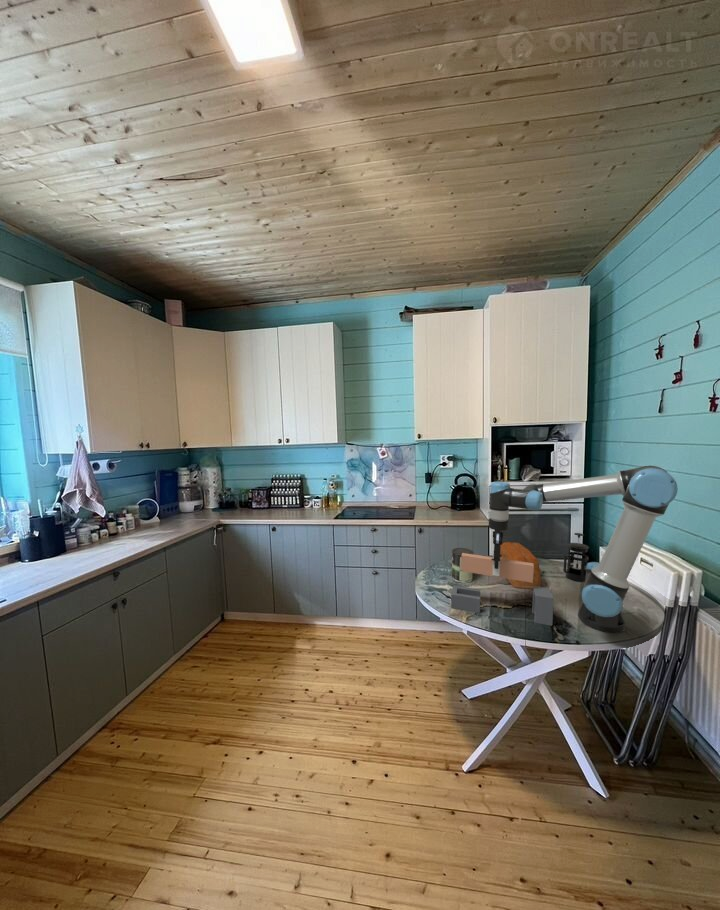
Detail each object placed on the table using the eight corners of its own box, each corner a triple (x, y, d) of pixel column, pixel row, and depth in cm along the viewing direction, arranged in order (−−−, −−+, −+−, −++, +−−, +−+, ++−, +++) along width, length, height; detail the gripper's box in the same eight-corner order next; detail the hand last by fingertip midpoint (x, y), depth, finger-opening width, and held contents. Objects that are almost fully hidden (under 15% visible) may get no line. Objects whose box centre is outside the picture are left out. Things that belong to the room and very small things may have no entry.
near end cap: (548, 613, 144) (549, 588, 143) (552, 625, 136) (553, 598, 135) (532, 611, 146) (533, 585, 145) (534, 622, 138) (536, 595, 137)
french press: (581, 574, 182) (583, 530, 180) (593, 582, 173) (596, 536, 171) (558, 574, 182) (560, 530, 180) (569, 582, 173) (572, 536, 171)
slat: (532, 579, 144) (533, 563, 144) (532, 582, 142) (533, 565, 141) (461, 568, 155) (462, 552, 154) (460, 570, 152) (461, 555, 151)
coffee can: (448, 580, 175) (449, 552, 174) (454, 572, 184) (455, 546, 183) (469, 584, 170) (470, 556, 169) (474, 577, 179) (475, 550, 178)
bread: (521, 566, 192) (523, 539, 191) (542, 589, 165) (544, 558, 164) (495, 565, 193) (496, 539, 192) (512, 588, 167) (513, 557, 165)
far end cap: (480, 602, 153) (480, 589, 152) (479, 613, 144) (480, 599, 144) (452, 598, 157) (453, 585, 156) (450, 608, 148) (451, 594, 148)
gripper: (489, 513, 155) (487, 565, 157) (488, 523, 140) (485, 579, 142) (507, 515, 152) (505, 567, 154) (508, 525, 137) (505, 583, 139)
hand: (496, 573), depth 148 cm, fingers closed on slat, 3 cm apart
